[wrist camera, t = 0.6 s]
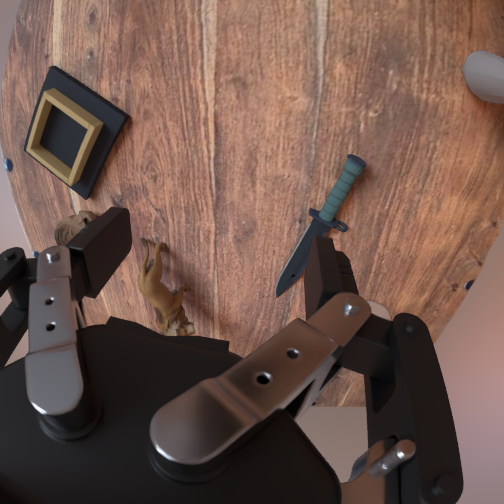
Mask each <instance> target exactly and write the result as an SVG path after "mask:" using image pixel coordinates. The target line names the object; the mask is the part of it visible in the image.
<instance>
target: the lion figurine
mask: <svg viewBox="0 0 504 504" xmlns="http://www.w3.org/2000/svg"><path fill="white" fill-rule="evenodd" d="M140 240H141V242H142V243H143V245H144V247H145V249H146V252H145V257H144V261H143V264H142V268H141V273H140V275H139V277H138V286H139V290H140V292H141V293H142V294H143V295H144V296H145V297H146V298H147V299H148V301H149V302H150V304H151V305H152V307H153V308H154V310H155V312H156V323H157V326H158V328H159V330H160V332H161V334H162V335H165V336H189V335H191V334H194V333H195V329H194V324H193V322H188V318H187V317H186V316H185V309H184V308H183V306H182V305H181V304H182V301H183V293H184V291H185V292H187V291H188V290H189V286H187V285H185V284H183V285H181V286H180V287H179V290H178V293H177V292H176V291H175V290H173V289H172V290H170V291H169V289H168V288H167V287H166V286H165V285H164V284H163V283H162V282H160V280H161V277H162V260H161V254H160V251H163V250H164V249H165V244H164V243H158V244H156V246H155V250H154V260H149V261H148V256H149V247H148V243H147V240H146V239H144V238H141V239H140ZM147 262H148V263H147ZM146 266H147V267H146ZM151 267H152V268H151ZM173 296H174V297H173Z"/></svg>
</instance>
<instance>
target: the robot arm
mask: <svg viewBox="0 0 504 504" xmlns="http://www.w3.org/2000/svg"><path fill="white" fill-rule="evenodd" d="M131 246H132V235H131V224H130V213H129V210H128V209H127V208H119V207H111V208H109V209H108V210H107V211H106V212H105V213H104V214H103V215H102V216H100V217H98V218H96V219H94V220H92V221H90V222H89V223H88V224H87V225H86V226H85V228H83V229H82V230H80V232H78V233H77V234H76V235H75V236H74V237H73V238H72V239H71V240H70V241H69V242H68V243H67V244H66V245H65V246H62V245H56V246H52V247H49V248H47V249H45V250H43V251H42V252H41V253H40V254H39V256H38V258H29V259H26V256H25V253H24V250H23V249H22V248H19V247H14V248H10V249H7V250H6V251H4V252H3V253H1V254H0V297H1V296H2V295H3V294H4V292H5V291H6V290H8V292H9V294H10V296H11V299H12V302H11V303H10V304H9V306H8V307H7V308H6V309H5V311H4V312H3V313H2V315H1V316H0V504H456V502H457V501H458V500H459V498H460V497H461V494H462V491H463V474H462V467H461V461H460V454H459V447H458V442H457V436H456V431H455V426H454V421H453V416H452V412H451V408H450V403H449V399H448V395H447V391H446V387H445V383H444V379H443V376H442V372H441V368H440V365H439V362H438V358H437V355H436V352H435V348H434V345H433V342H432V339H431V336H430V333H429V330H428V327H427V326H426V324H425V323H424V322H423V321H422V320H421V319H420V318H419V317H417V316H415V315H413V314H410V313H400V314H397V315H396V316H395V317H394V319H393V321H390V320H387V319H384V318H382V317H379V316H376V315H374V314H373V313H371V306H370V304H369V303H368V302H367V301H366V300H365V299H364V298H363V297H361V296H359V293H358V289H357V285H356V282H355V278H354V275H353V271H352V269H351V264H350V260H349V259H348V257H347V256H346V255H345V254H344V253H343V252H341V251H335V248H334V243H333V239H332V238H328V237H322V236H316V235H314V237H313V240H312V244H311V248H310V252H309V256H308V260H307V264H306V269H305V275H304V289H305V311H306V321H303V320H302V319H300V318H297V319H295V320H293V321H292V322H291V323H289V324H288V325H287V326H286V327H284V328H283V329H282V330H280V331H279V332H278V333H277V334H275V335H274V336H273V337H271V338H270V339H269V340H267V341H266V342H265V343H264V344H262V345H261V346H260V347H258V348H257V349H256V350H254V351H253V352H252V353H250V354H249V355H248V356H246V357H245V358H242V357H241V356H239V355H237V354H235V353H233V352H230V351H229V341H224V340H218V339H213V338H207V337H202V336H165V335H161V334H159V333H157V332H155V331H153V330H151V329H149V328H147V327H145V326H142V325H140V324H138V323H136V322H132V321H128V320H124V319H120V318H116V317H112V316H110V318H109V320H108V321H107V323H106V324H100V325H92V326H88V325H87V320H86V314H85V309H84V304H83V300H82V299H83V297H84V296H86V297H90V298H94V299H95V298H96V297H97V295H98V294H99V293H100V291H101V290H102V288H103V287H104V286H105V284H106V283H107V281H108V280H109V279H110V277H111V276H112V275H113V273H114V272H115V271H116V269H117V268H118V267H119V265H120V264H121V263H122V261H123V260H124V259H125V257H126V256H127V255H128V254H129V252H130V250H131ZM27 329H28V330H29V331H28V333H29V334H28V336H29V337H28V339H29V352H28V354H26V356H25V357H23V358H21V359H19V360H17V361H15V362H13V363H11V364H9V365H7V366H5V364H6V363H7V361H8V359H9V358H10V356H11V354H12V353H13V351H14V349H15V348H16V346H17V345H18V343H19V342H20V340H21V338H22V337H23V335H24V333H25V332H26V331H27ZM4 366H5V367H4ZM343 367H344V368H346V369H349V370H352V371H355V372H358V373H360V374H363V375H364V383H365V395H366V409H367V430H368V450H367V451H366V452H365V453H364V454H363V455H361V456H360V457H359V458H358V459H357V460H356V461H355V463H354V464H353V467H352V472H351V476H350V479H349V480H348V482H345V483H340V481H339V479H338V477H337V475H336V473H335V471H334V470H333V468H332V467H331V466H330V465H329V463H328V462H327V461H326V460H325V458H324V457H323V456H322V455H321V453H320V452H319V451H318V450H317V448H316V447H315V446H314V445H313V443H312V442H311V441H310V440H309V439H308V437H307V436H306V434H305V433H304V432H303V431H302V429H301V428H300V427H299V425H298V424H297V423H296V422H297V421H298V420H299V419H300V418H301V417H302V416H303V414H304V413H305V412H306V411H307V410H308V409H309V407H310V406H311V404H312V403H313V402H314V400H315V399H316V398H317V397H318V396H319V395H320V394H321V393H322V391H323V390H324V389H325V388H326V387H327V386H328V385H329V384H330V382H331V381H332V380H333V379H334V378H335V377H336V376H337V374H338V373H339V372H340V371H341V370H342V369H343Z"/></svg>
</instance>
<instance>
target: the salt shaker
mask: <svg viewBox="0 0 504 504" xmlns="http://www.w3.org/2000/svg"><path fill="white" fill-rule="evenodd" d="M462 72H463V75H464V78H465V81H466V84H467V86H468V87H469V89H470V90H471V92H472V93H474V94H475V95H476V96H477V97H478V98H479V99H481V100H484V101H487V102H490V103H501V104H504V58H502V57H500V56H497V55H495V54H493V53H490V52H487V51H484V50H480V51H476V52H472V53H471V54H470V55H469V56H468V57H467V59H466V61H465V63H464V65H463V67H462Z"/></svg>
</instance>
